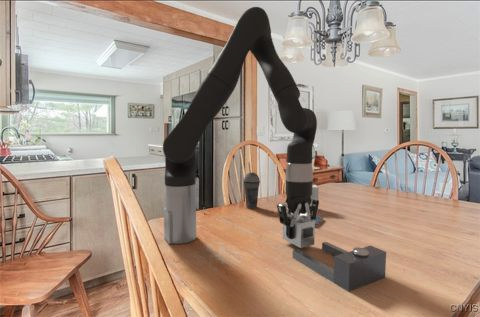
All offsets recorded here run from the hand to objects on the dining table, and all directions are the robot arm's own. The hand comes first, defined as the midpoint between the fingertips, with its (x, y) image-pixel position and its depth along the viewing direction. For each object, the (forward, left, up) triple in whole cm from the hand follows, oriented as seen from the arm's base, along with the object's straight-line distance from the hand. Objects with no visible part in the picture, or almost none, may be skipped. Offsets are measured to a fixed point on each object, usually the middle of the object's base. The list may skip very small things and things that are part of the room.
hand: (298, 236), depth 80 cm
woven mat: (+18, +16, -4) cm, 24 cm away
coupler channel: (0, -14, -3) cm, 14 cm away
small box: (+29, +28, -3) cm, 40 cm away
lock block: (0, 0, -1) cm, 1 cm away
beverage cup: (+10, +43, -3) cm, 44 cm away
